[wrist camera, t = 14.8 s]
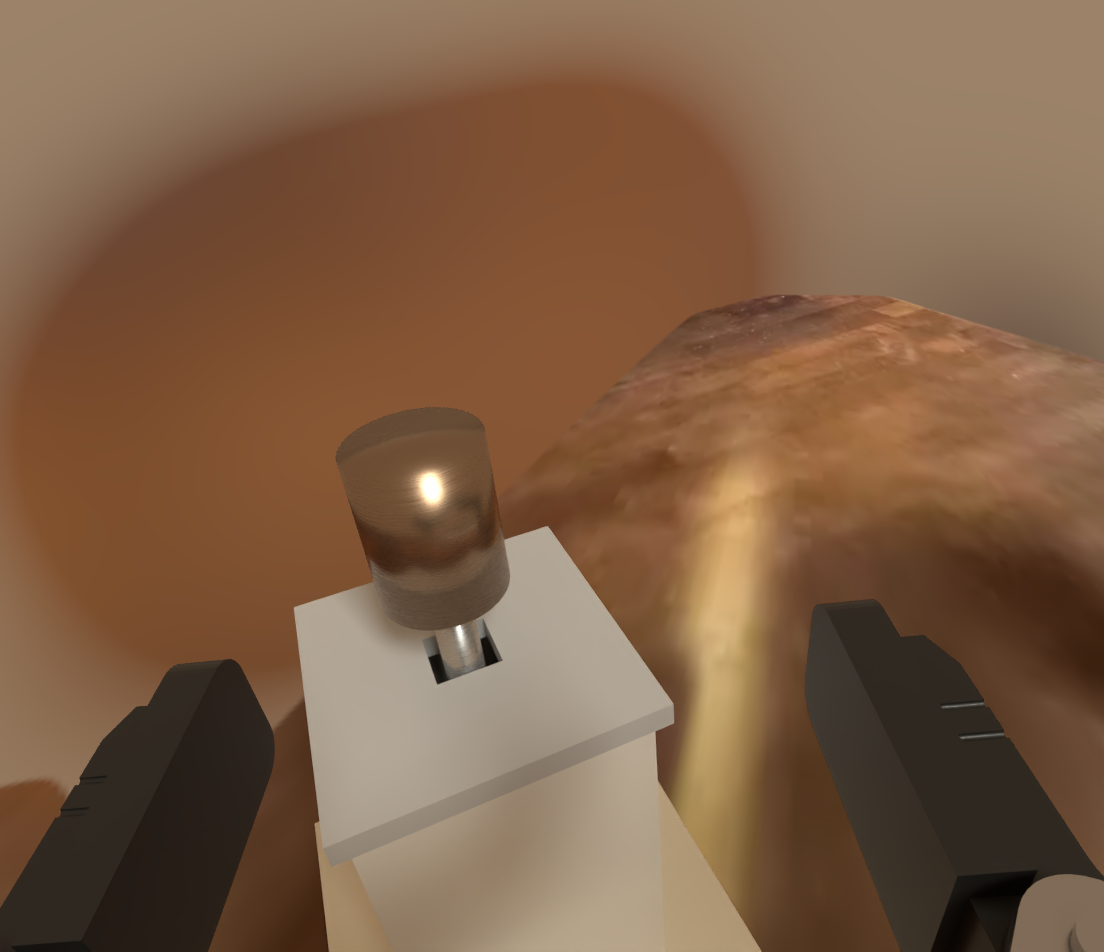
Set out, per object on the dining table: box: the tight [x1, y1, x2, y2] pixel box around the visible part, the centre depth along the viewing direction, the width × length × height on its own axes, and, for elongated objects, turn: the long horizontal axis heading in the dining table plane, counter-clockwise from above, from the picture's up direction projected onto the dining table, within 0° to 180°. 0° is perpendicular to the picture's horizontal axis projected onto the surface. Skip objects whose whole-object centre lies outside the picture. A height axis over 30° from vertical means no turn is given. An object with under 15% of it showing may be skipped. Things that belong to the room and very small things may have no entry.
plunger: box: [336, 407, 510, 681], centre depth 29 cm, size 9×9×24 cm
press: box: [294, 526, 762, 952], centre depth 33 cm, size 20×20×20 cm
